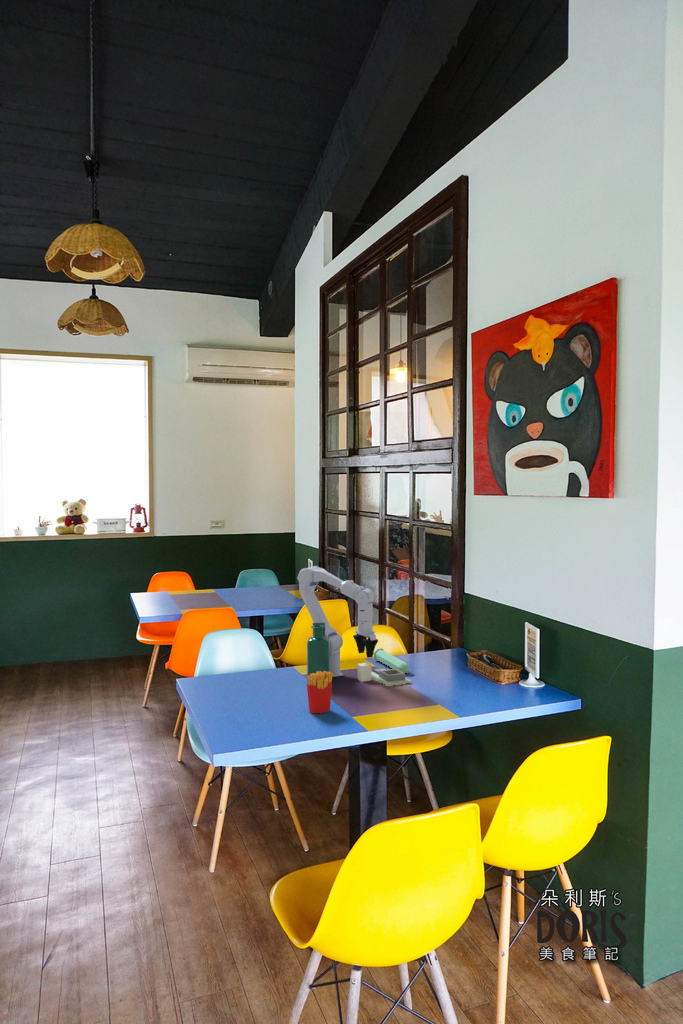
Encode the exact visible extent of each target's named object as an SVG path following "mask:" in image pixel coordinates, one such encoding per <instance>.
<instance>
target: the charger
mask: <svg viewBox="0 0 683 1024" xmlns="http://www.w3.org/2000/svg"><path fill="white" fill-rule="evenodd" d="M356 669H357V670H356V671H357V680H359V681H360V682H362V683H363V682H370V681H372V677H371V672H372V664H370V663H369V662H362V663H357V668H356Z"/></svg>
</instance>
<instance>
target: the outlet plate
mask: <svg viewBox="0 0 683 1024" xmlns="http://www.w3.org/2000/svg"><path fill="white" fill-rule="evenodd" d="M371 679H373V680H375V681H377V682H378V683H380V684H382V683H383V684H382V685H384V684H385V685H384V686H385V687H387V686H388V687H394V686H393V685H396V686H401V684H403V685H407V684H406V683H411V684H412V680H411V679H409V678H407V677H406V674H405V673H403V672H401V671H400V670H398V669H391V668H390V669H387V668H385V667H383V668H377V669H375V668H374V669H372V671H371Z"/></svg>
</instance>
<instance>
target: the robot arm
mask: <svg viewBox="0 0 683 1024" xmlns="http://www.w3.org/2000/svg"><path fill="white" fill-rule="evenodd" d="M296 579H297V581H298V587H299V595H300V597H301V598H302V600H303V603H304V605H305V607H306V609H307V612H308V613H309V615H310V616H309V617H311V620H312V623H325V637H328V638H329V640H330V673H333V677H332V678H336V677H342V676H345V674H344V673H342V672H341V648H342V647H343V645H344V639H343V637H342V635H340V634H339V633H338V632H337V629H335V628H333V627H332V626H331V624H330V622H329V620H328V618H327V616H326V614H325V612H324V609H323V608H322V605H321V604H320V601H319V599H318V597H317V595H316V593H315V589H316V587H317V585H318V584H319V582H324V583H326V584H329V585H330V586H333V587H335V588H337V589H339V590H340V593H341V594H342V595H344V596H346V597H349V599H352V600H354V601H355V602H356V604H357V627H356V628H355V634H354V635H352V637H353V638H354V641H355V644H356V647H357V652H358V654H363V653H365V654H366V658H367V659H368V658H374V652H375V650H376V649H375V648H376V646H377V644H378V642H379V639H378V638H377V635H376V634H375V633H376V630H373V628H374V627H373V625H374V623H373V620H374V619H373V618H374V615H373V608H374V607H373V602H374V600H375V597H376V594H375V592H374V591H373V589H371V588H368V587H367V588H364V586H363V585H361V586H360V585H359V584H356V583H355V581H354V580H352V579H350V580H349V579H347V580H343V579H342V578H339V577H337V576H336V575H334V574H332V573H330V572H328V571H327V570H326V569H325V568H323V567H319V566H318V565H313V566H310V567H304V568H302V569H300V570H299V573H298V575H297V577H296Z"/></svg>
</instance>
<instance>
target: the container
mask: <svg viewBox="0 0 683 1024" xmlns="http://www.w3.org/2000/svg"><path fill="white" fill-rule="evenodd" d="M373 659H374V660H375V661H376V660H378V661H377V662H379V661H380V663H381V662H382V663H381V664H383V665H384V664H385V666H386V665H387V666H386V667H388V666H389V667H390V669H391V668H392V669H398V670H400V671H401V672H403V673H407V674H408V673H409V672H410V665H409V664H408V663H407V662H405V661H403V660H402V659H400V658H398V657H396V656H394V655H392V654H390V653H389V652H387V651H386V650H384V649H383V648H376V649H375V650H374V653H373ZM389 667H388V668H389Z"/></svg>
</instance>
